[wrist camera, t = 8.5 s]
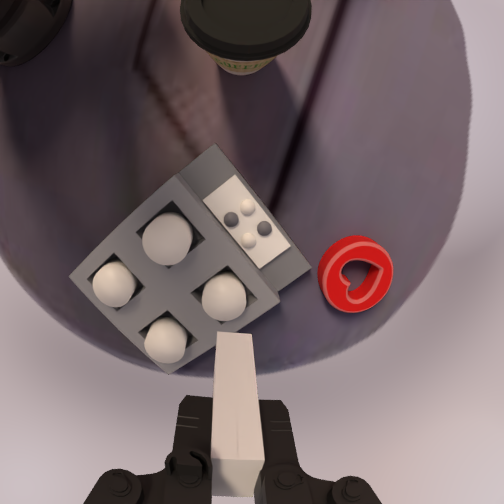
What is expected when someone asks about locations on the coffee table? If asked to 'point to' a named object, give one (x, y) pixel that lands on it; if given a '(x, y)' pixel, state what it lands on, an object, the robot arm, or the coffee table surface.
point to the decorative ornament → (338, 284)
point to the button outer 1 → (166, 340)
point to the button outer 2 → (224, 296)
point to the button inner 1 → (114, 283)
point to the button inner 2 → (168, 238)
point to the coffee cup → (245, 30)
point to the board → (197, 256)
